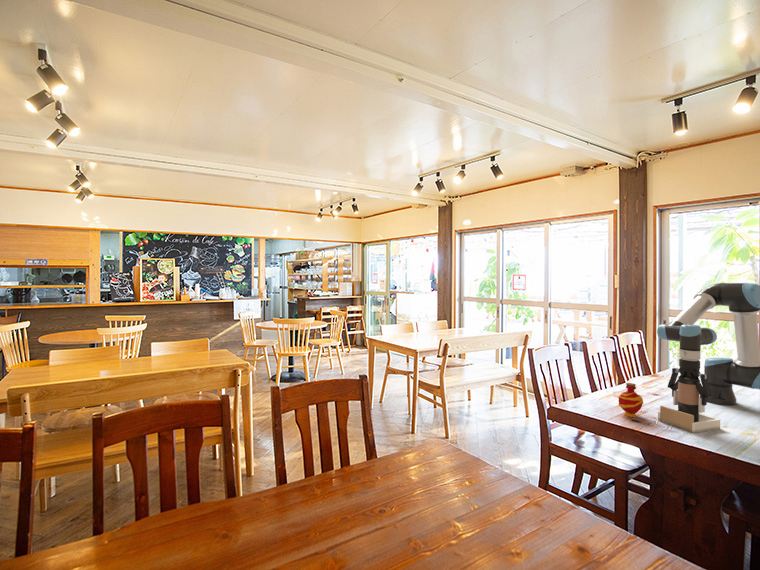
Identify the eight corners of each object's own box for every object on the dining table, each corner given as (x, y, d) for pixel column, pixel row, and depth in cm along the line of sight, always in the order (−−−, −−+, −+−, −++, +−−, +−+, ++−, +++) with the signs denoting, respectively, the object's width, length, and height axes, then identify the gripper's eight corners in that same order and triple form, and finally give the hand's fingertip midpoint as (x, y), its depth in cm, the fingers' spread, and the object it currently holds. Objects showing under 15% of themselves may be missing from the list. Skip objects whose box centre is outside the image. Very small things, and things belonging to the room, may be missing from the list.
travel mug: (702, 425, 176) (703, 379, 175) (683, 423, 177) (683, 379, 177) (693, 418, 183) (693, 375, 183) (674, 417, 185) (674, 374, 184)
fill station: (682, 416, 190) (682, 402, 190) (720, 428, 175) (720, 412, 175) (657, 420, 185) (658, 405, 185) (694, 433, 170) (694, 416, 170)
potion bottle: (635, 420, 185) (635, 388, 185) (613, 413, 194) (613, 382, 194) (648, 416, 190) (648, 385, 190) (626, 410, 199) (626, 380, 199)
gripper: (658, 354, 189) (657, 401, 190) (711, 365, 168) (710, 417, 168) (670, 354, 192) (669, 400, 192) (723, 364, 170) (722, 415, 170)
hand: (688, 408), depth 180 cm, fingers open, 10 cm apart
